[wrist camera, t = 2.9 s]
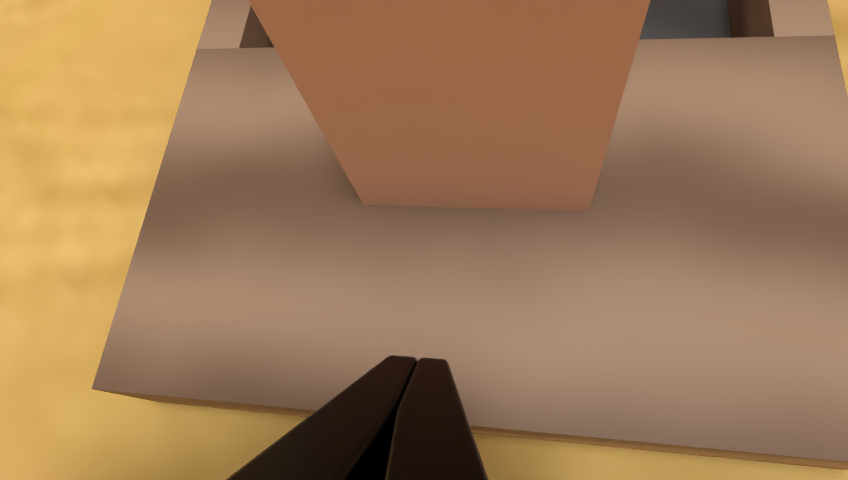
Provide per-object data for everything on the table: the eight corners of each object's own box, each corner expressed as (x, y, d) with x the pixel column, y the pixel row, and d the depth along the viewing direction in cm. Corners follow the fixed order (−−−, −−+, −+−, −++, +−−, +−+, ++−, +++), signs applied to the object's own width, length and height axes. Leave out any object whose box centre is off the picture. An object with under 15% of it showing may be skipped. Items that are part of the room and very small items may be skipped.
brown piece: (844, 469, 14) (1057, 468, 9) (158, 402, 17) (-7, 369, 12) (740, -183, 23) (810, -386, 18) (303, -146, 26) (248, -308, 21)
